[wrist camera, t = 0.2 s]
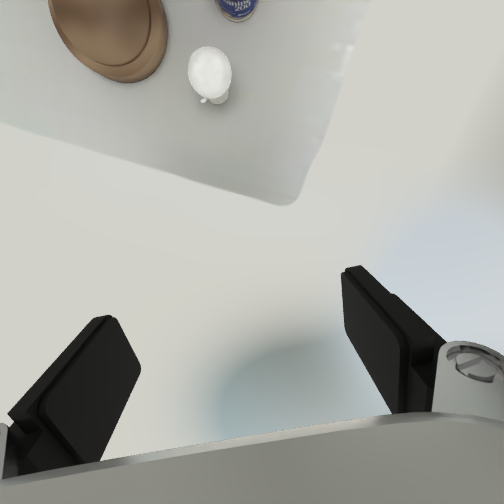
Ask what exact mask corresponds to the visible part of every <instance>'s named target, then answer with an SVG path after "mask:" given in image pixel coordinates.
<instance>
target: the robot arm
mask: <svg viewBox="0 0 504 504" xmlns="http://www.w3.org/2000/svg"><path fill="white" fill-rule="evenodd" d="M341 284H342V298H343V312H344V326H345V331H346V333H347V336H348V337H349V339H350V341H351V343H352V344H353V346H354V348H355V350H356V351H357V353H358V355H359V357H360V358H361V360H362V362H363V364H364V365H365V367H366V369H367V371H368V372H369V374H370V376H371V378H372V379H373V381H374V383H375V385H376V386H377V388H378V390H379V392H380V393H381V395H382V397H383V399H384V400H385V402H386V404H387V406H388V407H389V409H390V411H391V413H392V414H391V415H381V416H374V417H367V418H360V419H353V420H346V421H339V422H332V423H325V424H319V425H313V426H307V427H301V428H295V429H288V430H282V431H276V432H270V433H264V434H258V435H251V436H245V437H239V438H233V439H227V440H221V441H215V442H209V443H203V444H197V445H191V446H185V447H180V448H174V449H168V450H163V451H156V452H150V453H144V454H139V455H133V456H127V457H122V458H116V459H110V460H104V461H100V459H101V457H102V455H103V453H104V451H105V448H106V446H107V444H108V442H109V440H110V438H111V435H112V433H113V431H114V429H115V427H116V424H117V423H118V420H119V418H120V416H121V414H122V412H123V410H124V407H125V405H126V403H127V401H128V398H129V397H130V394H131V392H132V390H133V388H134V385H135V384H136V381H137V379H138V377H139V375H140V372H141V365H140V363H139V361H138V359H137V357H136V355H135V353H134V351H133V349H132V347H131V345H130V343H129V342H128V340H127V338H126V336H125V334H124V332H123V330H122V328H121V326H120V324H119V322H118V320H117V319H116V318H114V317H112V316H111V315H105V316H100V317H96V318H93V319H92V320H91V321H90V322H89V323H88V324H87V326H86V327H85V328H84V329H83V330H82V331H81V332H80V333H79V335H78V336H77V337H76V338H75V339H74V340H73V341H72V342H71V343H70V345H69V346H68V347H67V348H66V349H65V350H64V351H63V352H62V353H61V355H60V356H59V357H58V358H57V359H56V360H55V361H54V362H53V363H52V365H51V366H50V367H49V368H48V369H47V370H46V371H45V372H44V374H43V375H42V376H41V377H40V378H39V379H38V380H37V381H36V383H35V384H34V385H33V386H32V387H31V388H30V389H29V390H28V391H27V392H26V394H25V395H24V396H23V397H22V398H21V399H20V400H19V401H18V402H17V404H16V405H15V406H14V407H13V408H12V409H11V410H10V411H9V412H8V415H9V416H10V417H11V419H12V420H13V421H14V423H13V424H12V425H11V426H10V427H8V426H7V425H6V424H4V423H0V504H504V356H503V355H501V354H500V353H498V352H497V351H495V350H493V349H490V348H489V347H486V346H483V345H480V344H477V343H473V342H467V341H453V342H449V343H447V342H446V341H445V340H444V339H443V338H442V337H441V336H440V335H439V334H437V333H436V332H435V331H434V330H433V329H432V328H431V327H430V326H429V325H428V324H427V323H426V322H425V321H424V320H422V319H421V318H420V317H419V316H418V315H417V314H416V313H415V312H414V311H412V309H411V308H410V307H408V306H407V305H406V304H405V303H404V302H403V301H402V300H401V299H400V298H399V297H398V296H396V295H395V294H391V293H390V292H389V291H388V290H387V289H386V288H384V287H383V286H382V285H381V284H380V283H379V282H378V281H377V280H376V279H375V278H374V277H373V276H372V275H371V274H370V273H369V272H368V271H367V270H365V268H363V267H362V266H361V265H359V266H354V267H350V268H346V269H345V272H342V273H341Z"/></svg>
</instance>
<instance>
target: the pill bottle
mask: <svg viewBox="0 0 504 504" xmlns="http://www.w3.org/2000/svg"><path fill="white" fill-rule="evenodd" d="M215 1H216V4H217V6H218V8H219V10H220V12H221V13H222V14H223V15H224V16H225V17H226V18H228V19H229V20H231V21H235V22H239V21H244V20H246V19H247V18H249V17H250V16H251V15H252V13H253V12H254V10H255V8H256V6H257V3H258V0H215Z"/></svg>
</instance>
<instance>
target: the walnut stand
mask: <svg viewBox="0 0 504 504" xmlns="http://www.w3.org/2000/svg"><path fill="white" fill-rule="evenodd" d="M48 3H49V9H50V13H51V16H52V19H53V22H54V25H55V27H56V29H57V31H58V34H59V35H60V37H61V39H62V41H63V42H64V44H65V45H66V46H67V48H68V49H69V50H70V52H71V53H72V54H73V55H74V56H75V57H76V58H77V59H78V60H79V61H80V62H82V63H83V64H84V65H86V66H87V67H89V68H90V69H92V70H94V71H95V72H97V73H99V74H101V75H103V76H105V77H106V78H109V79H111V80H114V81H117V82H122V83H134V82H138V81H141V80H143V79H145V78H147V77H149V76H150V75H151V74H152V73H153V72H154V71H155V70H156V69H157V68H158V66H159V65H160V63H161V61H162V59H163V57H164V54H165V50H166V46H167V38H168V35H167V21H166V16H165V12H164V9H163V6H162V3H161V1H160V0H48Z"/></svg>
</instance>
